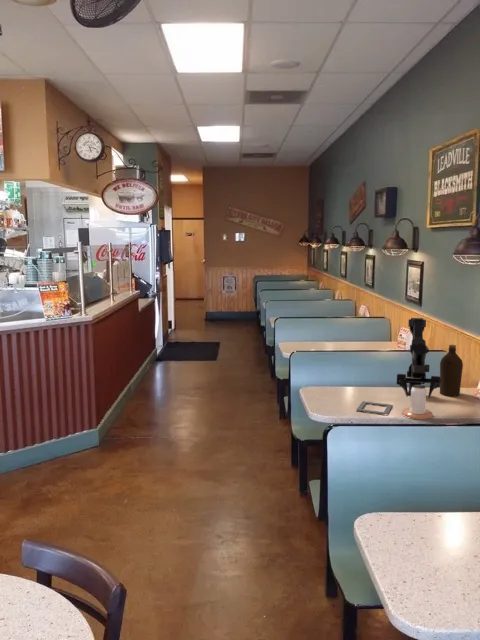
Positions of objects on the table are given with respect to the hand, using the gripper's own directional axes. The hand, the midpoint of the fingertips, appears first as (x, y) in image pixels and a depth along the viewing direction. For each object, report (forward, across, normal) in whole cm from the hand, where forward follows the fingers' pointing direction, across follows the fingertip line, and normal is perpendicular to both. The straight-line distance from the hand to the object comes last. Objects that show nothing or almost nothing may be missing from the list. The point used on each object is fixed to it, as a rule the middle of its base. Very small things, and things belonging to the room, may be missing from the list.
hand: (418, 397), depth 239 cm
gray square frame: (+2, -19, +10) cm, 21 cm away
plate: (+5, 0, +7) cm, 9 cm away
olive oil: (-21, +17, +33) cm, 43 cm away
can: (+5, 0, +6) cm, 8 cm away
